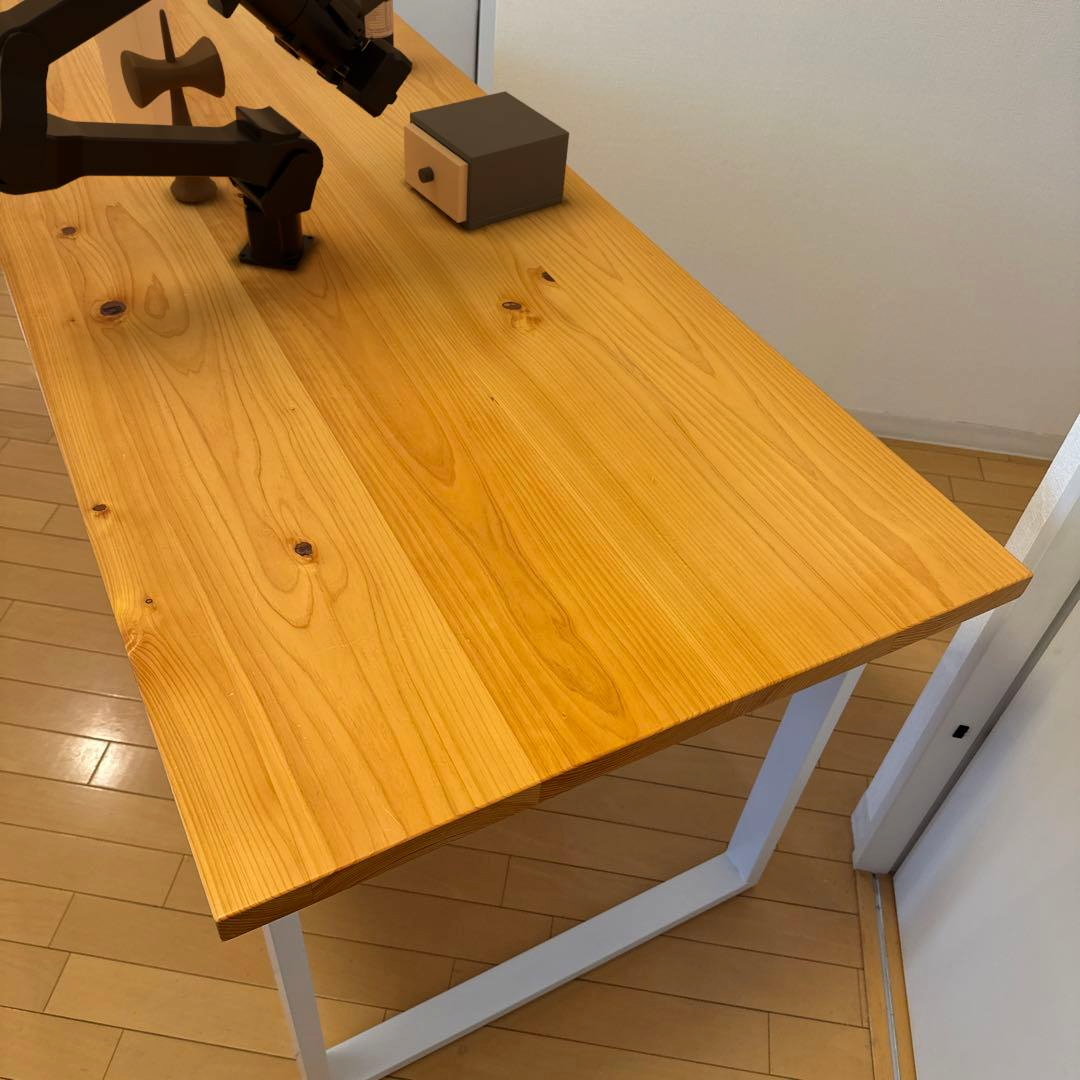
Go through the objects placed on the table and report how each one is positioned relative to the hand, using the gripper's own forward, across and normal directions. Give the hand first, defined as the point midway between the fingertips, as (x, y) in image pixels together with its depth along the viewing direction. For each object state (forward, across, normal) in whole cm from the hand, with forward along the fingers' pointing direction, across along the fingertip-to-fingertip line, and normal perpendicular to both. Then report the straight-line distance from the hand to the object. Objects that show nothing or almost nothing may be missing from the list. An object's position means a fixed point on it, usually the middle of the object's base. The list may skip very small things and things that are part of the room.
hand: (393, 99), depth 106 cm
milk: (-2, +29, +21) cm, 36 cm away
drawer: (+16, 0, +2) cm, 16 cm away
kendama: (-3, +16, +22) cm, 27 cm away
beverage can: (+24, +39, -4) cm, 46 cm away
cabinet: (+19, 0, +1) cm, 19 cm away
